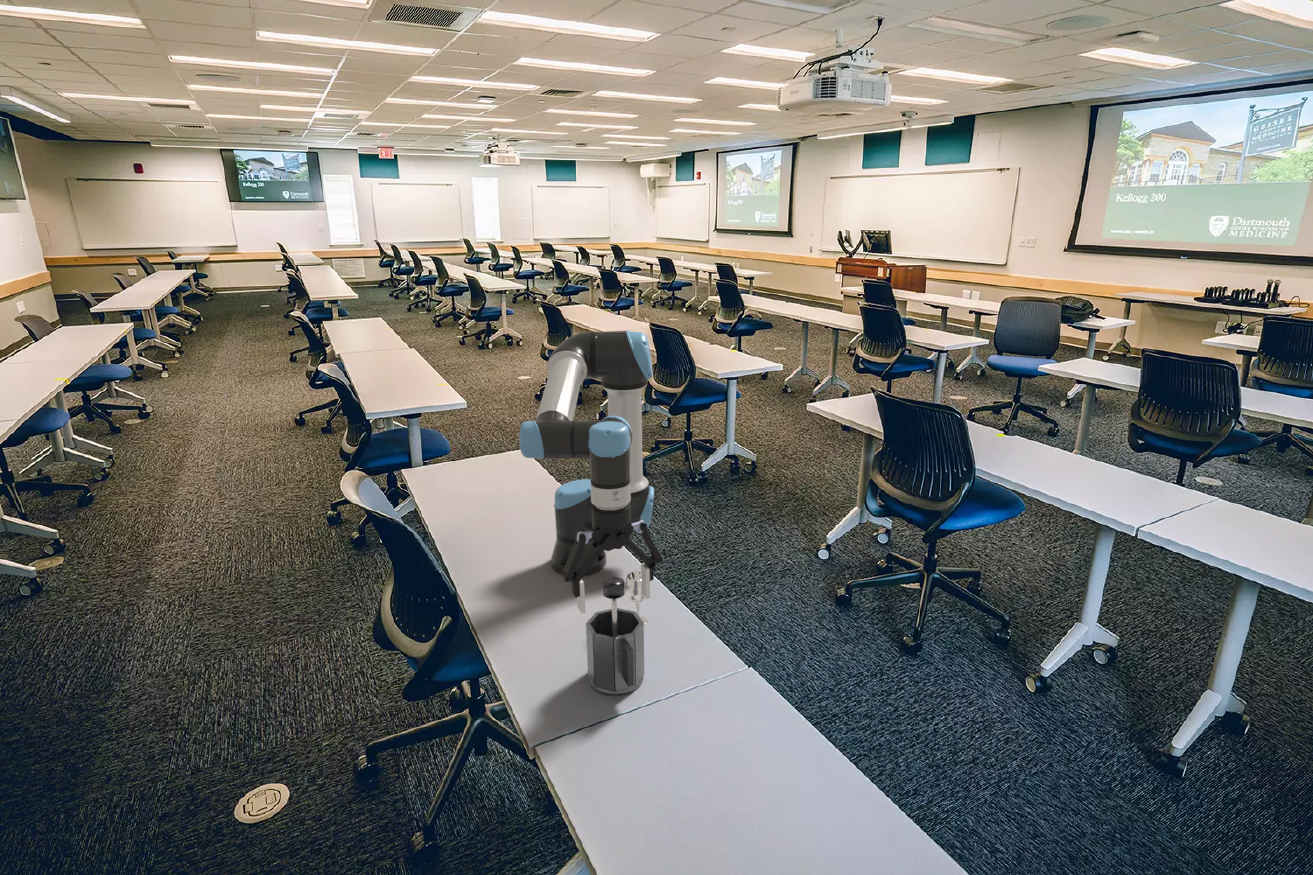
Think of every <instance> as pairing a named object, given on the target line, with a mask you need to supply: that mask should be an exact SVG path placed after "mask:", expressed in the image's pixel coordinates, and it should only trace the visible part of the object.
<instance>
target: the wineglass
mask: <svg viewBox="0 0 1313 875" xmlns="http://www.w3.org/2000/svg"><path fill="white" fill-rule="evenodd" d="M625 596H626V598H627V599H628V600H629V601H630V602H632V603H635V608H636V613H637V614H638V616H639V617H640V618H641V620H642V621H643V622H644V626H646V625H647V624H648V619H647V618H646V617H645V616H641V615H640V612H639V611H640V610H639V609H640V606H641V604H640V603H641V602H644V601H646V600H647V599H646V597H645V596H644V595H643V594H642V592H641V570H637V571H631V572H629V573H628V574H627V575H626V579H625Z"/></svg>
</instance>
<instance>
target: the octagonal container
mask: <svg viewBox="0 0 1313 875" xmlns="http://www.w3.org/2000/svg"><path fill="white" fill-rule="evenodd" d="M639 616H640V615H639ZM639 616H638V614H637V611H633V610H629V609H624V608H619V607H617V632H618V636H617V637H613V630H612V608H610V609H604V610H600V611H597V612H595V613H594V614H593V615H592V616H591V617H590V618H589V619H588V621H587V622H586V623H585V633H586V654H587V655H586V659H587V660H586V661H587V676H588V679H589V685H590V687H591V688H592V689H593V690H594V691H595V692H597V693H599V694H601V695H604V696H610V697H619V696H625V695H628V694H631V693H633V692H635V691H637V690H638V689H639V688H640V687H641V685H642V684H643V681H644V675H645V634H644V633H645V632H644V631H645V630H644V626H645V625H644V622H643V621H642V620H641V618H640V617H639Z"/></svg>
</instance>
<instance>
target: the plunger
mask: <svg viewBox="0 0 1313 875" xmlns="http://www.w3.org/2000/svg"><path fill="white" fill-rule="evenodd" d="M625 583H626V580H624V579H623V578H622V577H618V576H609V577H606V578H605V579H603V580H602V584H601V585H602V596H603V597H604V598H607V599H611V609H612V630H613V637H617V636H618V632H617V608H618V602H617V601H618V600H617V599H620V598H623V597H624V595H626V593H625Z"/></svg>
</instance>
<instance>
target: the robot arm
mask: <svg viewBox="0 0 1313 875" xmlns="http://www.w3.org/2000/svg"><path fill="white" fill-rule="evenodd" d="M546 372H547V374H548V377H547V380H546V384H545V387H544V391H543V394H542V397H541V399H540V400H541V401H540V404H539V409H538V411H537V415H536V417H535V418H536V419H532V420H527V421H524V422H522V423H521V425H520V428H519V437H518V438H519V449H520V454H521V455H522V456H523V457H525V458H527V459H540V460H544V459H589V469H590V471H589V472H590V479H586V478H583V479H576V480H572V481H571V480H570V481H569V482H566V483H564V484H562V485H560V486H559V487H557V489H556V490H555V492H554V504H553V507H554V514H555V515H554V516H555V532H556V540H555V544H554V547H553V550H552V553H551V558H550V560H551V567H552V569H553V571H555V572H557V573H559V574H561V577H562V579H563V580H564V581H565V583H569V582H570V583H571V593H572V595H573V596H574V598H577V599H576V600H577V601H576V603H577V605H576V606H577V608H578V610H579V611H580V614H584V613H585V614H586V599H585V598H586V596H585V595H586V594H585V582H584V581H583V578H584V576H587V575H591V574H592V575H593V574H595V573H598V572H599V571H601V570H602V569H603V568H605V567H606V565H607V553H606V552H611V551H612V550H619V549H622V548H623V547H624V546H626V547H627V548H628V549H630V550H631V551H632V552H633V553H634V554H635V555H636V556H637V557H639V558H638V559H641V561H643V563H641V564H640V572H641V592H642V594H643V595H644V596H645V597H646V600H647V599H650V598H651V588H650V587H651V584H650V582H652V581H654V579H655V578H654V577H655V576H654V575H655V574H654V569H655V570H656V568H657V565H656V564H661V563H662V562H663V557H662V555H661V554H660V551H659V550H658V548H657V546H656V544H655V542H654V541H653V539H652V538H651V536H650V534H649V532H648V528H649V527H650V524H651V522H652V515H653V507H654V496H655V495H654V494H655V488H654V487H653V486H651V485H649V479H647V478H646V477H645V476H644V475H643V474H644V473H643V472H644V470H643V467H644V464H643V421H642V417H643V416H642V413H643V411H642V409H643V408H642V391H643V390H644V389H645V388H646V387H647V386H648V380H650V379H652V378H653V365H652V357H651V348H650V343H649V339H648V336H647V334H645V333H644V332H642V331H633V330H632V331H630V330H615V331H614V330H613V331H608V330H607V331H605V330H604V331H583V332H578V333H576V334H573V335H571V336H570V337H568V338H566V339H565V340H564V341H562V342H561V343H559V344H558V345H557V346H556V348H555V349H553V351H552V352H551V354H550V356H549V358H548V361H547V365H546ZM587 379H594V380H598V379H599V380H600V385H601V388H602V389H604V391H606V392H607V414H608V416H606V417H604V418H602V419H601V420H574V417H575V413H576V407H577V402H578V397H579V392H580V388H581V385H582V384H581V383H583V382H584V381H585V380H587ZM634 531H635V532H636V533H637V534H639V535H640V537H641V539H642V541H643V542H644V545H645V546H646V547H647V549H648V551H649V552H650V554H651V556H649V555H647V554H646V552H644V551H643V550H642V549H641V548H639V546H638V545H637V544H635V542H634V541H632V540H631V539H630V538H631V536H632V534H633V532H634Z"/></svg>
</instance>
